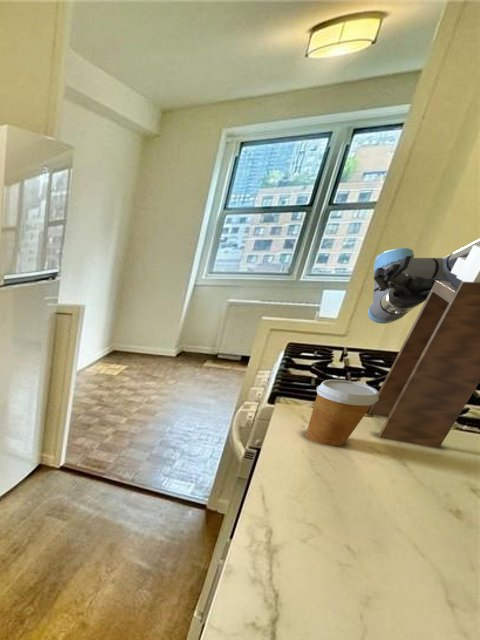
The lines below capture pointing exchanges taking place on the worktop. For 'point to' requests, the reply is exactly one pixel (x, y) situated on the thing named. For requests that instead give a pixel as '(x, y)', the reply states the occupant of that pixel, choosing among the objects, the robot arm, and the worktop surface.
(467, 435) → the worktop surface
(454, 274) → the white block dark base
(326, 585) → the worktop surface
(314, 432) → the disposable coffee cup
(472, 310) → the tall wooden cabinet
